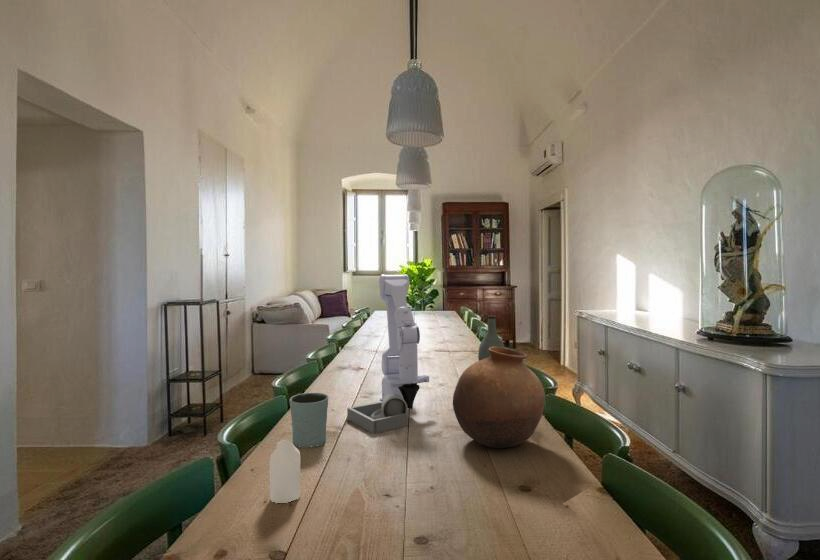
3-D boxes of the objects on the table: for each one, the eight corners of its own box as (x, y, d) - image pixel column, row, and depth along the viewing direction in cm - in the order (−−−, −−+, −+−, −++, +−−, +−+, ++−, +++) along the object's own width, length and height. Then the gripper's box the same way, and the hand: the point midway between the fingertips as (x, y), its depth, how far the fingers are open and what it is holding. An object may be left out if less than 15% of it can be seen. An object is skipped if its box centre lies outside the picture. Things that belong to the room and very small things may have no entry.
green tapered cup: (315, 433, 135) (314, 390, 135) (336, 442, 128) (336, 397, 128) (283, 442, 128) (282, 397, 128) (303, 452, 121) (302, 404, 121)
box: (347, 419, 147) (347, 407, 147) (380, 412, 154) (379, 401, 154) (373, 433, 134) (373, 421, 134) (407, 425, 141) (407, 413, 140)
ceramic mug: (403, 414, 152) (403, 390, 151) (408, 422, 144) (407, 396, 143) (370, 417, 150) (369, 392, 150) (372, 425, 142) (371, 399, 142)
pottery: (440, 436, 131) (439, 345, 131) (511, 425, 140) (510, 339, 140) (485, 467, 110) (484, 358, 110) (565, 451, 119) (564, 351, 119)
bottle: (494, 411, 154) (493, 317, 153) (472, 405, 161) (471, 315, 160) (512, 405, 160) (511, 315, 160) (490, 400, 167) (490, 313, 166)
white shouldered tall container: (297, 432, 100) (302, 440, 95) (298, 489, 101) (303, 500, 95) (267, 436, 98) (271, 445, 93) (268, 494, 98) (272, 507, 93)
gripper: (395, 369, 143) (396, 415, 143) (434, 363, 151) (435, 407, 151) (383, 365, 149) (383, 409, 149) (421, 360, 157) (422, 402, 157)
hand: (408, 408), depth 150 cm, fingers closed
